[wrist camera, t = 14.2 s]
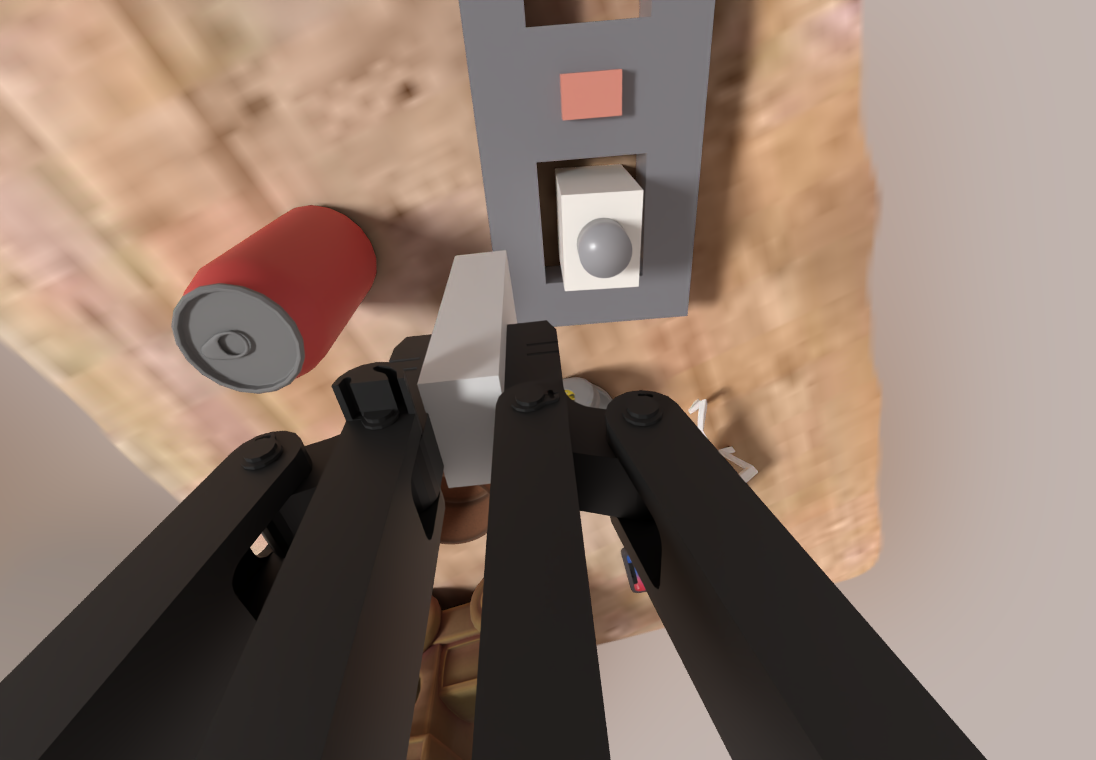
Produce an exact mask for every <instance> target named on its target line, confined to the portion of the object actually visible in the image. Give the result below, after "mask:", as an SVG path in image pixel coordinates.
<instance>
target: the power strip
mask: <svg viewBox="0 0 1096 760" xmlns="http://www.w3.org/2000/svg"><path fill="white" fill-rule="evenodd" d="M459 6H460V13H461V21H462V28H463V36H464V43H465V50H466V58H467V65H468V72H469V80H470V87H471V95H472V102H473V109H474V117H475V124H476V131H477V139H478V146H479V154H480V161H481V168H482V176H483V183H484V191H485V198H486V205H487V213H488V220H489V227H490V235H491V242H492V250H493V251H502V250H506V252H507V259H508V266H509V272H510V279H511V286H512V292H513V299H514V306H515V312H516V319H517V323H526V322H535V321H544V320H547V321H548V322H549V323H550V324H551V325H552V326H553V327H557V326H569V325H581V324H593V323H606V322H618V321H630V320H642V319H654V318H667V317H679V316H687V314H688V303H689V291H690V280H691V269H692V258H693V246H694V235H695V224H696V212H697V201H698V190H699V178H700V167H701V156H702V144H703V133H704V122H705V110H706V99H707V88H708V76H709V65H710V54H711V42H712V31H713V20H714V8H715V0H640V10H639V18H630V19H619V20H607V21H595V22H584V23H572V24H561V25H549V26H538V27H526V25H525V12H524V0H459ZM631 154H636V182H637V183H638V184H639V186H640V187H641V188H642V189H643V208H642V228H641V249H640V269H639V287H625V288H609V289H593V290H577V291H565V289H564V283H563V277H562V270H561V265H559V266H547V267H545V265H544V253H543V240H542V227H541V215H540V202H539V189H538V177H537V164H536V162H548V161H560V160H571V159H583V158H595V157H607V156H619V155H631Z"/></svg>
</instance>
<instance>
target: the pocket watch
mask: <svg viewBox="0 0 1096 760" xmlns="http://www.w3.org/2000/svg"><path fill="white" fill-rule="evenodd" d="M563 387H564V390H565V393H566V394H567V395H568V396H569V398H571V399H572V400H574V401H575V402H577V403H579V404H582V405H584V406H588V407H593V408H600V409H606V408H607V405H608V404H609V403H610V402H611V401H612V400H613V399H612V398H611V396H610V395H609V394H608V393H607V392H606V391H605V390H603V389H602V388H601V387H599V386H596V385H594V384H592V383H590V382H589V381H587V380H586V379H583V378H579V377H573V378H565V379H563Z"/></svg>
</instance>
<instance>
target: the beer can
mask: <svg viewBox="0 0 1096 760" xmlns="http://www.w3.org/2000/svg"><path fill="white" fill-rule="evenodd" d="M375 276H376V256H375V253H374V250H373V247H372V245H371V242H370V241H369V239H368V238H367V236H366V235H365V234H364V232H363V231H362V229H361V228H360V227H359V226H358V225H357V224H355V223H354V222H353V221H352V220H351V219H349V218H348V217H347V216H346V215H343V214H341V213H339V212H337V211H335V210H332V209H330V208H327V207H320V206H313V205H309V206H303V207H297V208H294V209H292V210H290V211H289V212H287V213H285V214H284V215H282V216H280V217H279V218H277V219H276V220H274V221H273V222H271V223H270V224H268V225H267V226H265V227H264V228H262V229H260V230H259V231H257V232H256V233H254V234H253V235H251V236H250V237H248V238H247V239H245V240H244V241H242V242H240V243H239V244H237V245H236V246H234V247H233V248H231V249H230V250H228V251H227V252H225V253H224V254H222V255H221V256H219V257H217V258H216V259H214V260H213V261H211V262H210V263H208V264H207V265H205V266H204V267H202V268H201V269H199V271H198V272H197V274H196V275H195V277H194V278H193V280H192V281H191V283H190V284H189V286H188V287H187V289H186V290H185V292H184V295H183V297H182V298H181V300H180V301H179V303H178V304H177V306H176V307H175V309H174V311H173V318H172V330H173V334H174V337H175V341H176V344H177V346H178V347H179V349H180V350H181V352H182V353H183V355H184V357H185V358H186V360H187V361H188V362H189V363H190V364H192V365H193V366H194V367H195V368H196V369H197V370H198V371H199V372H200V373H201V374H202V375H204V376H206V377H207V378H209V379H211V380H212V381H214V382H216V383H217V384H219V385H221V386H224V387H227V388H230V389H233V390H236V391H239V392H248V393H257V394H260V393H266V392H273V391H277V390H279V389H281V388H283V387H285V386H287V385H289V384H291V382H292V381H293V380H294V379H296V378H298V377H300V376H302V375H304V374H306V373H308V372H309V371H311V370H312V369H313V368H315V367H316V366H317V364H318V363H319V362H320V361H321V360H322V359H323V358H324V357H325V355H326V354H327V353H328V351H329V350H330V348H331V347H332V345H333V344H334V342H335V341H336V339H337V338H338V336H339V335H340V333H341V332H342V330H343V329H344V327H345V326H346V324H347V323H348V321H349V320H350V318H351V317H352V315H353V314H354V312H355V311H356V309H357V308H358V306H359V305H360V303H361V302H362V300H363V299H364V297H365V296H366V294H367V293H368V291H369V290H370V288H371V287H372V285H373V282H374V279H375Z"/></svg>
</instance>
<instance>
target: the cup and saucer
mask: <svg viewBox="0 0 1096 760" xmlns="http://www.w3.org/2000/svg"><path fill="white" fill-rule="evenodd" d="M441 490H442V493H443V497H444V501H445V512H444V519H443V525H442V532H441V538H440V543H441V544H461V543H466V542H470V541H473V540H476V539H478V538H480V537H482V536H483V535H485V534H486V533H487V526H488V512H489V497H490V484H482V485H473V486H463V487H453V488H448V485H447V481H446V478H445V475H444V471H443V476H442V481H441Z"/></svg>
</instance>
